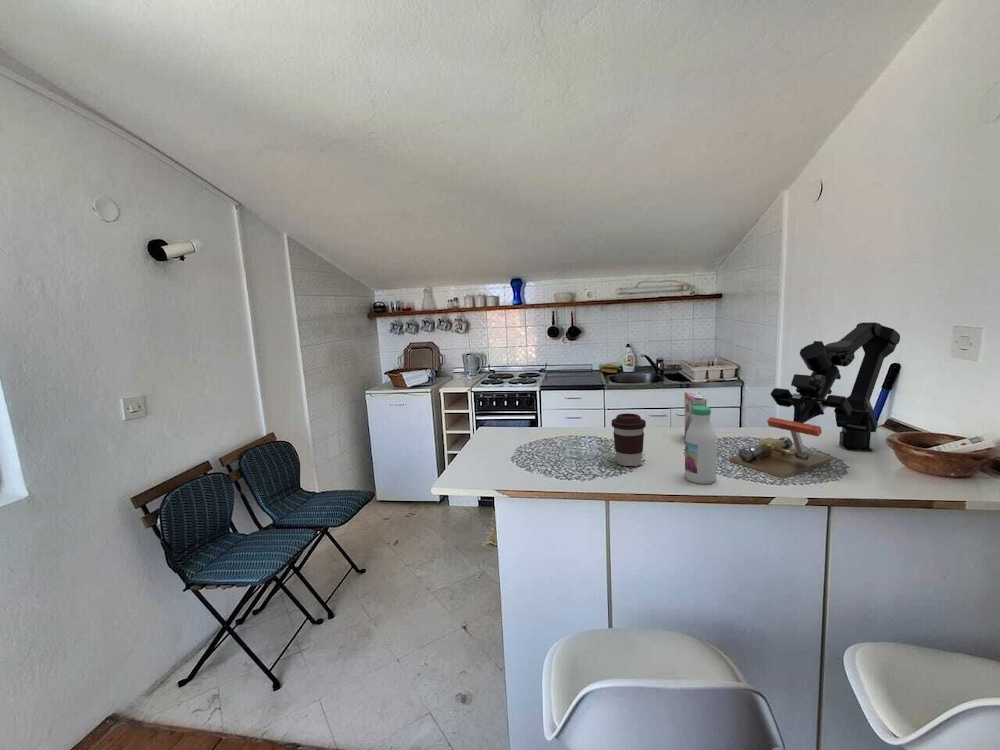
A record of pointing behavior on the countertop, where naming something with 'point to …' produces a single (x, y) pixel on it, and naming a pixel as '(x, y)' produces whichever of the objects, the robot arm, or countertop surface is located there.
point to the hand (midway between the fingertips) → (795, 425)
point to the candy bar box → (692, 401)
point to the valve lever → (796, 433)
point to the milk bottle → (700, 448)
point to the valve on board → (777, 458)
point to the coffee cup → (628, 438)
